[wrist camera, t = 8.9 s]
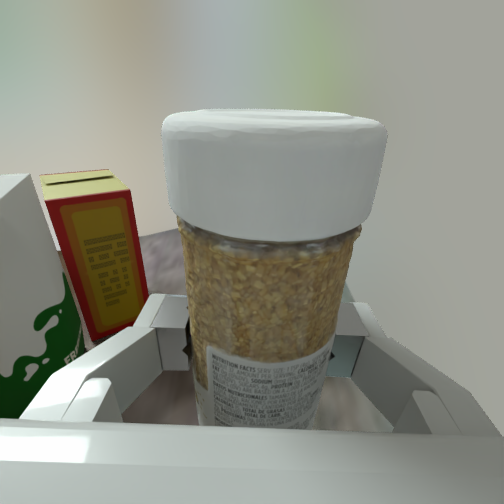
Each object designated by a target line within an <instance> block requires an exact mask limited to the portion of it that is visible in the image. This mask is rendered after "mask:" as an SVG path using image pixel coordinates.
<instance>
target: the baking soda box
mask: <svg viewBox="0 0 504 504" xmlns="http://www.w3.org/2000/svg"><path fill="white" fill-rule="evenodd" d="M40 180H41V185H42V190H43V195H44V200H45V203H46V206H47V209H48V212H49V215H50V218H51V221H52V224H53V227H54V230H55V233H56V236H57V239H58V242H59V245H60V248H61V251H62V254H63V257H64V260H65V263H66V266H67V269H68V272H69V275H70V278H71V281H72V284H73V287H74V290H75V293H76V296H77V299H78V302H79V305H80V308H81V311H82V314H83V317H84V320H85V323H86V326H87V329H88V332H89V335H90V338H91V341H95V340H97V339H100V338H102V337H105V336H108V335H110V334H113V333H116V332H118V331H121V330H123V329H125V328H127V327H131V326H133V325H134V323H135V322H136V320H137V318H138V316H139V314H140V312H141V311H142V309H143V307H144V305H145V303H146V301H147V300H148V298H149V294H148V288H147V282H146V277H145V271H144V265H143V260H142V254H141V248H140V242H139V237H138V231H137V226H136V220H135V214H134V208H133V202H132V197H131V191H130V189H129V188H128V187H126V186H125V185H124V184H123V183H122V182H121V181H120V180H119V179H118V178H117V177H116V176H115V175H114V174H113V173H111V172H110V171H109V170H108V169H104V170H92V171H80V172H68V173H57V174H45V175H40Z"/></svg>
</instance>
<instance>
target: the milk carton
mask: <svg viewBox="0 0 504 504" xmlns="http://www.w3.org/2000/svg"><path fill="white" fill-rule="evenodd" d="M84 348H85V344H84V338H83V331H82V325H81V320H80V317H79V314H78V311H77V308H76V305H75V302H74V299H73V297H72V294H71V291H70V288H69V285H68V282H67V279H66V276H65V273H64V270H63V267H62V264H61V262H60V259H59V256H58V253H57V250H56V247H55V244H54V241H53V238H52V236H51V233H50V230H49V227H48V224H47V222H46V219H45V216H44V213H43V210H42V208H41V205H40V202H39V199H38V196H37V193H36V190H35V187H34V184H33V181H32V178H31V175H30V173H28V174H1V175H0V418H6V419H19V418H20V416H21V415H22V414H23V412H24V411H25V410H26V408H27V407H28V406H29V404H30V403H31V402H32V400H33V399H34V398H35V396H36V395H37V394H38V392H39V391H40V390H41V388H42V387H43V386H44V384H45V383H46V382H47V380H48V379H49V378H50V376H51V375H52V374H53V373H55V372H57V371H58V370H60V369H61V368H63V367H65V366H66V365H68V364H69V363H71V362H73V361H74V360H76V359H77V358H79V357H81V356H82V355H84Z"/></svg>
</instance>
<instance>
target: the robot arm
mask: <svg viewBox="0 0 504 504" xmlns="http://www.w3.org/2000/svg"><path fill="white" fill-rule="evenodd" d="M191 340H192V339H191V332H190V317H189V314H188V299H187V295H172V294H151V295H150V296H149V298H148V300H147V301H146V303H145V305H144V307H143V309H142V311H141V312H140V314H139V316H138V318H137V320H136V322H135V323H134V325H133V327H127V328H125V329H124V330H122V331H120V332H119V333H117V334H116V335H114V336H112V337H111V338H109V339H108V340H106V341H104V342H103V343H101V344H100V345H98V346H96V347H95V348H93V349H92V350H90V351H89V352H87V353H85V354H84V355H82V356H81V357H79V358H77V359H76V360H74V361H73V362H71V363H69V364H68V365H66V366H65V367H63V368H61V369H60V370H58V371H57V372H55V373H53V374H52V375H51V376H50V378H49V379H48V380H47V382H46V383H45V384H44V386H43V387H42V388H41V390H40V391H39V392H38V394H37V395H36V396H35V398H34V399H33V400H32V402H31V403H30V404H29V406H28V407H27V408H26V410H25V411H24V412H23V414H22V415H21V416H20V418H19V419H6V418H0V504H504V437H502V435H501V434H500V432H499V431H498V430H497V428H496V427H495V426H494V424H493V423H492V422H491V420H490V419H489V417H488V416H487V415H486V414H485V412H484V411H483V409H482V408H481V407H480V405H479V404H478V403H477V401H476V400H475V399H474V397H473V396H472V394H471V393H470V392H469V391H468V390H466V389H465V388H463V387H462V386H460V385H459V384H458V383H456V382H455V381H453V380H452V379H450V378H449V377H448V376H446V375H445V374H443V373H442V372H440V371H439V370H437V369H436V368H435V367H433V366H432V365H430V364H429V363H427V362H426V361H424V360H423V359H422V358H420V357H419V356H417V355H416V354H414V353H413V352H411V351H410V350H409V349H407V348H406V347H404V346H403V345H401V344H399V343H398V342H397V341H395V340H394V339H393V338H387V337H386V335H385V333H384V331H383V330H382V328H381V326H380V324H379V323H378V321H377V319H376V317H375V316H374V314H373V312H372V310H371V309H370V307H369V305H368V304H367V303H354V302H351V303H341V302H340V307H339V311H338V324H337V329H336V334H335V338H334V342H333V346H332V350H331V355H330V359H329V363H328V367H327V371H326V375H325V376H334V377H349V378H351V380H352V381H353V382H354V383H355V384H356V385H357V386H358V387H359V389H360V390H361V391H362V392H363V393H364V394H365V395H366V396H367V398H368V399H369V400H370V401H371V402H372V403H373V404H374V405H375V407H376V408H377V409H378V410H379V411H380V412H381V413H382V414H383V415H384V417H385V418H386V419H387V420H388V421H389V422H390V423H391V424H392V426H393V427H394V429H393V431H392V433H386V432H357V431H329V430H301V429H275V428H248V427H222V426H195V425H168V424H141V423H123V419H122V416H121V414H122V413H123V412H124V411H125V410H126V409H127V408H128V407H129V406H130V405H131V404H132V403H133V402H134V400H135V399H136V398H137V397H138V396H139V395H140V394H141V393H142V392H143V391H144V390H145V389H146V388H147V387H148V386H149V385H150V384H151V383H152V382H153V381H154V380H155V379H156V378H157V377H158V376H159V375H160V374H161V373H162V370H189V368H190V364H191V360H192V356H193V350H192V341H191Z"/></svg>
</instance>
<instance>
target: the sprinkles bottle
mask: <svg viewBox="0 0 504 504" xmlns="http://www.w3.org/2000/svg"><path fill="white" fill-rule="evenodd" d="M161 136H162V146H163V156H164V167H165V175H166V182H167V190H168V198H169V204H170V207H171V209H172V210H173V212H174V213H175V214H176V215H177V223H178V226H179V232H180V233H181V241H182V246H183V255H184V268H185V277H186V290H187V299H188V314H189V317H190V332H191V339H192V340H191V341H192V350H193V377H194V387H195V396H196V406H197V413H198V421H199V426H222V427H248V428H275V429H301V430H312V427H313V423H314V419H315V415H316V411H317V407H318V403H319V399H320V395H321V391H322V387H323V383H324V379H325V375H326V371H327V367H328V363H329V359H330V355H331V350H332V346H333V342H334V338H335V334H336V329H337V324H338V311H339V307H340V302H341V298H342V293H343V288H344V284H345V280H346V276H347V271H348V268H349V262H350V259H351V256H352V251H353V243H354V241H355V240H356V239H357V238H358V237H359V236H360V233H361V230H362V227H361V223H363V222H364V221H365V220H366V219H367V218H368V216H369V214H370V212H371V208H372V204H373V200H374V197H375V193H376V189H377V185H378V180H379V176H380V171H381V167H382V162H383V157H384V153H385V147H386V142H387V137H388V135H387V130H386V128H385V126H383V124H381V123H380V122H378V121H376V120H372V119H367V118H363V117H354V116H351V115H348V114H342V113H335V112H319V111H318V112H317V111H303V110H302V111H301V110H279V109H201V110H197V111H188V112H179V113H174V114H171V115H169V116H168V117H167V118H166V119H165V120H164V122H163V124H162V130H161Z"/></svg>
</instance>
